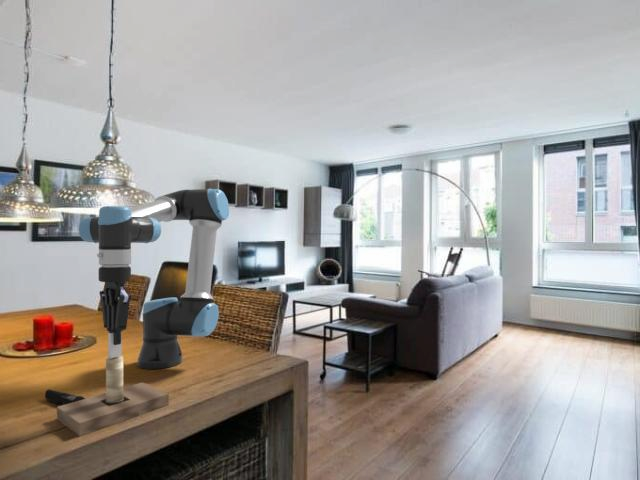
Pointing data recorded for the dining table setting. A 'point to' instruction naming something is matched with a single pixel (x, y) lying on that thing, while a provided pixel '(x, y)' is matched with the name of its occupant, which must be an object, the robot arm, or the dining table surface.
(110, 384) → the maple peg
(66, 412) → the walnut board
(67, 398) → the electric trimmer
